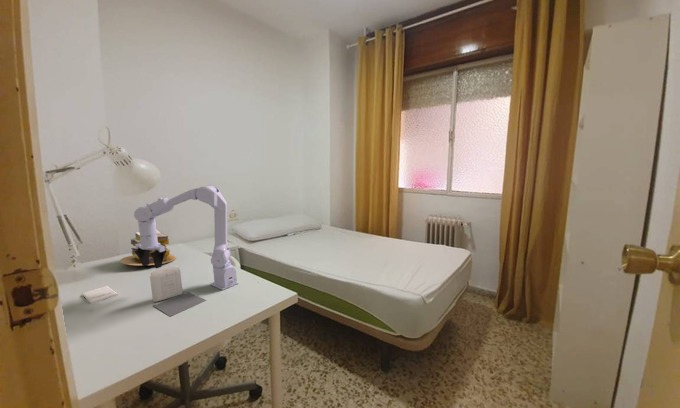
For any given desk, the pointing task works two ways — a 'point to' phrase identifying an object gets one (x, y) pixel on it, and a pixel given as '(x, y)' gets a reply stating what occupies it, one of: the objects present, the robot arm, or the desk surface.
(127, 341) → the desk surface
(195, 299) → the rubber mat
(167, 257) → the sandwich platter
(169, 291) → the photo printer
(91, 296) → the external hard drive
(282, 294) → the desk surface
